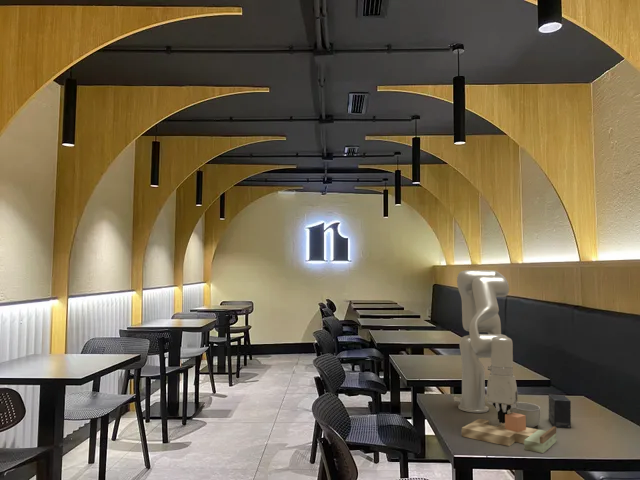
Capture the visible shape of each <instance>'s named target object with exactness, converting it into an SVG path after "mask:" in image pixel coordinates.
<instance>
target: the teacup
mask: <svg viewBox="0 0 640 480" xmlns="http://www.w3.org/2000/svg"><path fill="white" fill-rule="evenodd" d="M517 405H518V407H517V408H510V409H509V413H513V412H514V413H518V414H522V415H526V427H528V428H533V429H535V427H536V426H538V425H539V424H540V419H541V406H539V405H538V404H535V403H533V402H532V403H531V402H524V401H517ZM502 410H503V406H502Z"/></svg>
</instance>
